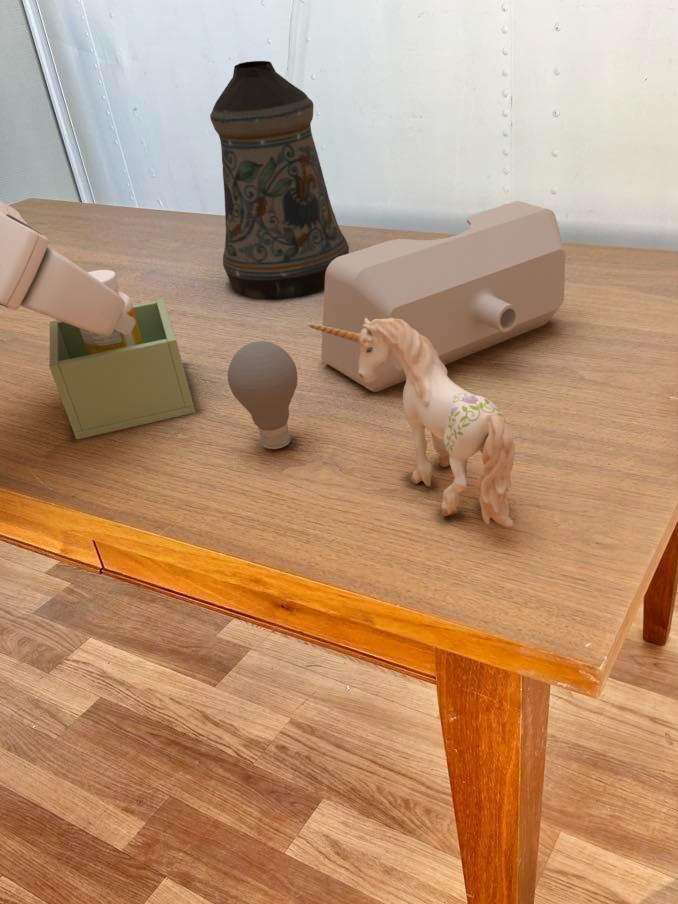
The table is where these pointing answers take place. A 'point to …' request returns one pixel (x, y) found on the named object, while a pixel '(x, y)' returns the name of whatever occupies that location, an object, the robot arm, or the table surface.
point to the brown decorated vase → (273, 188)
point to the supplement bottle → (116, 339)
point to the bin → (120, 376)
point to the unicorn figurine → (441, 415)
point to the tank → (449, 288)
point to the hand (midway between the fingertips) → (112, 318)
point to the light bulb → (265, 388)
